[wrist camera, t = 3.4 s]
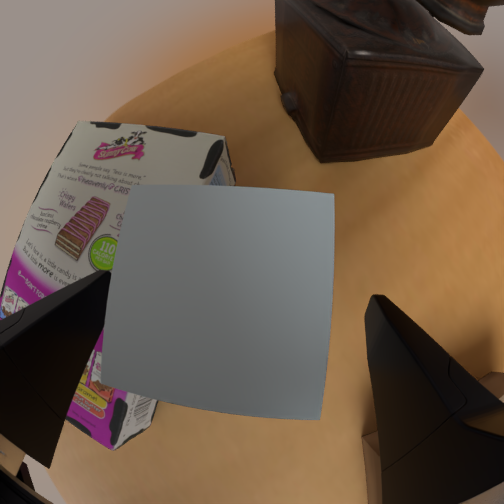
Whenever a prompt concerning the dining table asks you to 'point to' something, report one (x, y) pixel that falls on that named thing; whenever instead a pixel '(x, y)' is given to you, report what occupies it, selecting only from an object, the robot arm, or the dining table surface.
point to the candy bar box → (102, 238)
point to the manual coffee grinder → (374, 71)
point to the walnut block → (494, 382)
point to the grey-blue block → (222, 299)
